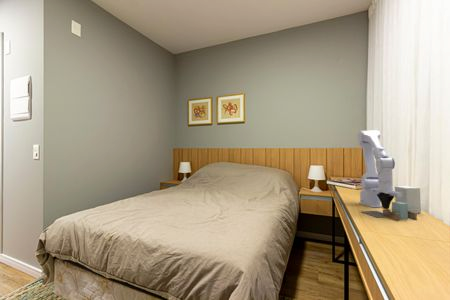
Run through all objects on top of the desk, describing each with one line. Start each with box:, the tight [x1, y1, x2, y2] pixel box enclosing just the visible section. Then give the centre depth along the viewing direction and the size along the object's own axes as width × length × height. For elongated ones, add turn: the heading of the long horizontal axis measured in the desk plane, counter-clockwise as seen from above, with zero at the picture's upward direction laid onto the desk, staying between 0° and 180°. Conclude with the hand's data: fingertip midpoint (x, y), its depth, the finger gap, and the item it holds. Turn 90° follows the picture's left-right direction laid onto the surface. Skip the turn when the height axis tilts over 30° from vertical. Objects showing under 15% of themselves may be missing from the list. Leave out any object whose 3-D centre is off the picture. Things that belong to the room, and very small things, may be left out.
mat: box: [360, 210, 388, 219], centre depth 101 cm, size 9×9×1 cm
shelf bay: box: [382, 208, 418, 222], centre depth 96 cm, size 8×10×3 cm
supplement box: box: [394, 185, 422, 214], centre depth 107 cm, size 7×7×13 cm
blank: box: [391, 201, 409, 220], centre depth 96 cm, size 4×4×7 cm
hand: (385, 208), depth 103 cm, fingers closed
